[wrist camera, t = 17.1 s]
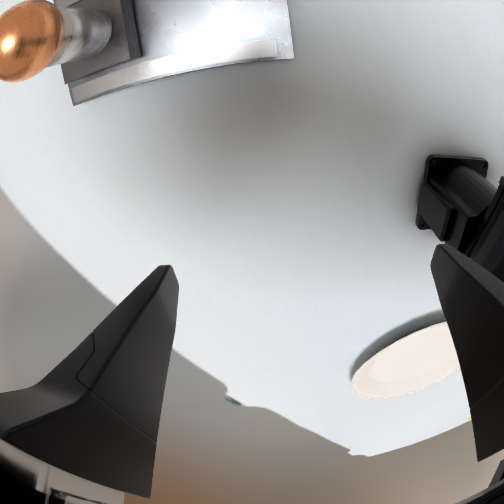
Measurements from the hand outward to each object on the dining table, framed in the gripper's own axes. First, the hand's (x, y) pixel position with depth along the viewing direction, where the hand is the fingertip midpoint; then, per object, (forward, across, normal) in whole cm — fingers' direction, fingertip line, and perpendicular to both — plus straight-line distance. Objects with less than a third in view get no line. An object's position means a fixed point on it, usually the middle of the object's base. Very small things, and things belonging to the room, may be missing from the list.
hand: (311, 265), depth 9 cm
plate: (+13, -18, +30) cm, 37 cm away
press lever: (+10, +10, -10) cm, 17 cm away
